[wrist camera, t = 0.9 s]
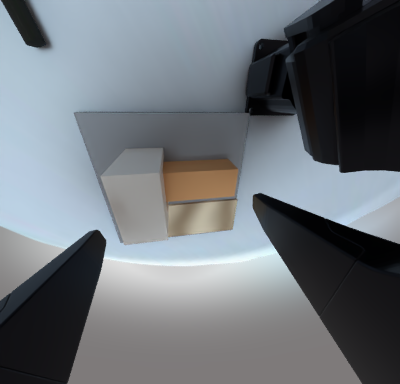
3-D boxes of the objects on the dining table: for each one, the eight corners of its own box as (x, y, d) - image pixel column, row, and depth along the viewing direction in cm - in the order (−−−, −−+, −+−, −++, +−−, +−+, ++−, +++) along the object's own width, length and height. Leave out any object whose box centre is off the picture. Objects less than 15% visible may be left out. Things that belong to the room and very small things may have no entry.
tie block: (163, 147, 17) (159, 173, 11) (168, 199, 21) (168, 239, 15) (125, 148, 17) (100, 176, 11) (138, 201, 20) (124, 245, 14)
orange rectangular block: (228, 158, 20) (238, 169, 17) (225, 183, 21) (234, 196, 18) (129, 163, 18) (121, 175, 15) (135, 189, 20) (129, 204, 17)
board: (246, 112, 18) (249, 113, 17) (229, 225, 27) (231, 229, 26) (78, 111, 15) (73, 112, 15) (122, 237, 25) (120, 242, 24)
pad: (236, 198, 23) (237, 199, 23) (231, 227, 26) (232, 229, 26) (124, 207, 21) (123, 209, 20) (133, 239, 24) (133, 241, 23)
